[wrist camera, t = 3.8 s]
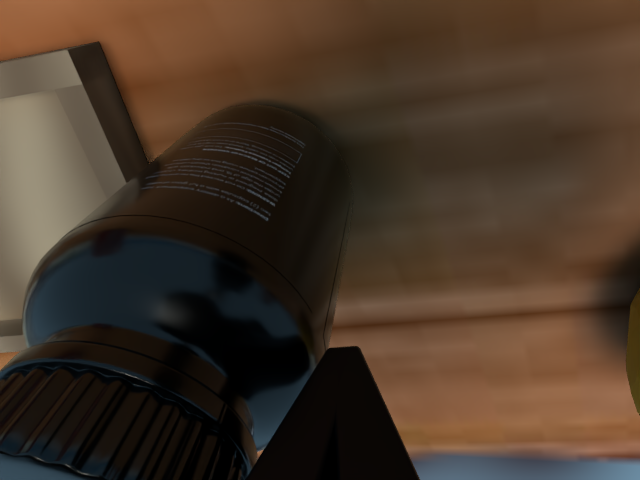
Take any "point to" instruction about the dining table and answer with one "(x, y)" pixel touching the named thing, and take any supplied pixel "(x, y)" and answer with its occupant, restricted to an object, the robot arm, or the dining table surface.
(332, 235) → the supplement bottle
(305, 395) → the robot arm
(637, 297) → the apple
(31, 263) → the metal tray
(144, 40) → the dining table surface
